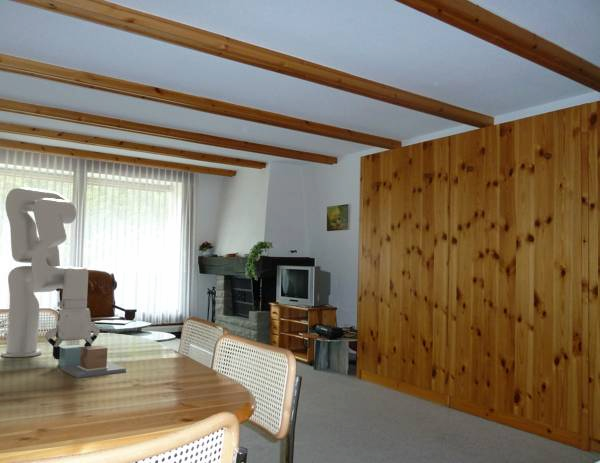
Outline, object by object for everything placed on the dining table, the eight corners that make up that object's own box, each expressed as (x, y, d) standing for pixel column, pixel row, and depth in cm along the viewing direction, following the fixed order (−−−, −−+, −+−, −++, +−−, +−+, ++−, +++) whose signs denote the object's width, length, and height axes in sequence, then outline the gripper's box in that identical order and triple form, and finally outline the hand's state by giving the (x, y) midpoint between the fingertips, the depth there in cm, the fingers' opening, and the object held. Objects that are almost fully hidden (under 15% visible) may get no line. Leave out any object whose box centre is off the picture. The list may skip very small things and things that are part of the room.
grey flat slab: (60, 369, 162) (60, 365, 162) (107, 364, 173) (107, 360, 173) (77, 377, 152) (77, 373, 152) (125, 371, 162) (126, 367, 163)
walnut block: (79, 366, 163) (80, 346, 163) (98, 364, 167) (99, 345, 167) (87, 369, 158) (88, 349, 159) (106, 367, 162) (107, 348, 163)
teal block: (58, 364, 169) (59, 346, 170) (76, 362, 173) (77, 344, 174) (64, 368, 165) (65, 349, 165) (83, 365, 169) (84, 347, 169)
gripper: (51, 306, 162) (48, 362, 160) (105, 304, 174) (102, 356, 172) (42, 305, 167) (40, 358, 166) (95, 303, 179) (93, 353, 178)
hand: (72, 357), depth 169 cm, fingers open, 9 cm apart
